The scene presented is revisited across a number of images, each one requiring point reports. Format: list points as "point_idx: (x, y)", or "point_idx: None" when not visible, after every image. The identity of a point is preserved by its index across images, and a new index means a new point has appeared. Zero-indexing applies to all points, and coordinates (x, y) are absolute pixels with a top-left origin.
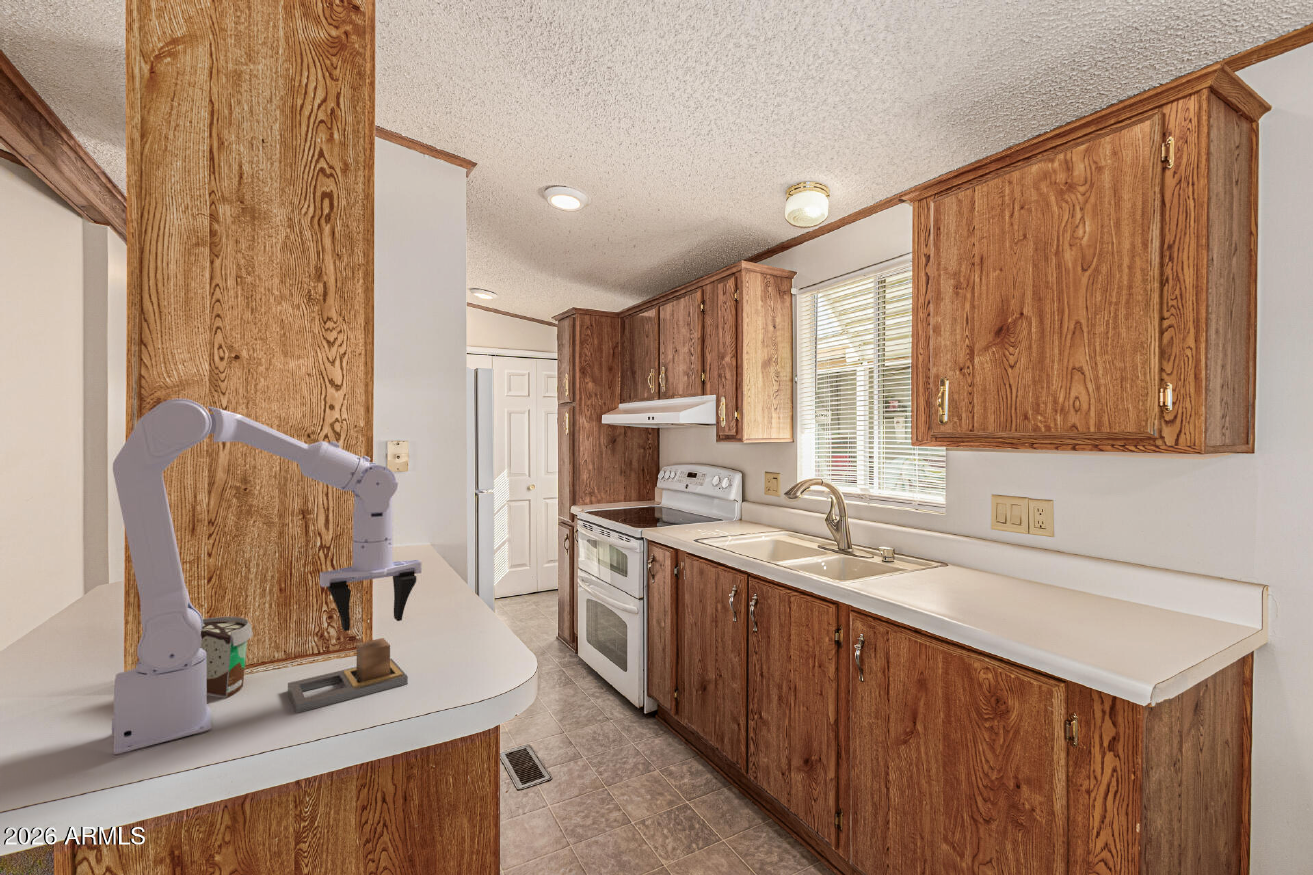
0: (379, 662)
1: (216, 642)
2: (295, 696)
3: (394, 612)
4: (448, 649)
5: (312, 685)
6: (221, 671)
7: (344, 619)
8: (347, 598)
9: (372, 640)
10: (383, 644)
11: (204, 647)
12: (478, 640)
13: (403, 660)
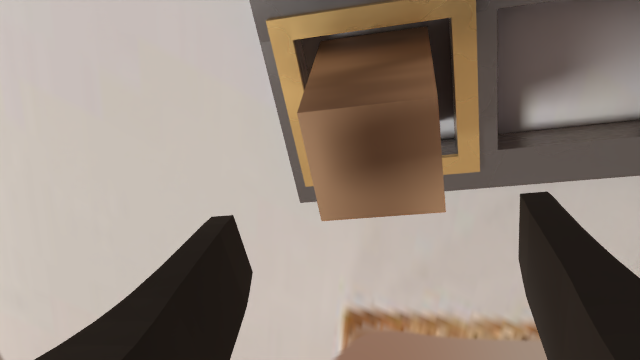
0: (355, 73)
1: None
2: None
3: (241, 291)
4: (113, 222)
5: (595, 132)
6: None
7: (583, 230)
8: (637, 349)
9: (371, 214)
10: (327, 137)
11: None
12: (18, 244)
13: (262, 209)
